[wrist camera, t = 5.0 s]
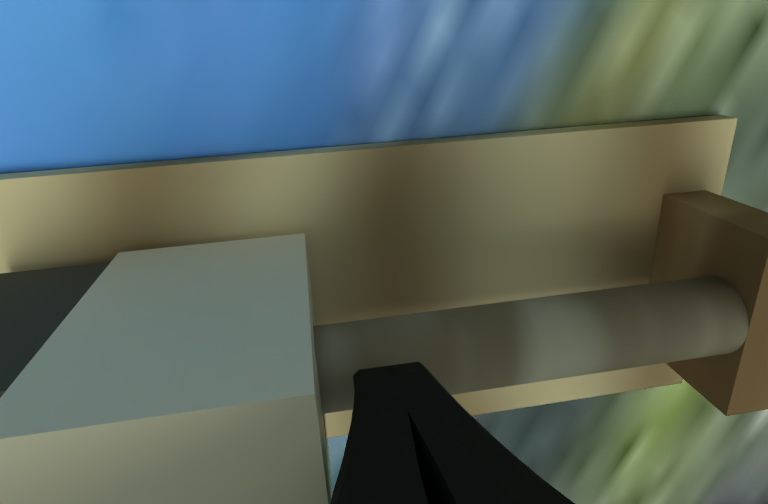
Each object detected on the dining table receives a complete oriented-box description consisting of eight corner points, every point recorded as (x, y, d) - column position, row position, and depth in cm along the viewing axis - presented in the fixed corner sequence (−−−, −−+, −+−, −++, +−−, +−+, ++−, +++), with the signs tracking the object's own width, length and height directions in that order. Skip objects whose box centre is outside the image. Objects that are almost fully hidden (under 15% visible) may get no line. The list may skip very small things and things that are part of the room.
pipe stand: (719, 114, 13) (882, 143, 10) (668, 371, 16) (777, 467, 13) (-756, 236, 9) (-1429, 362, 6) (-458, 542, 13) (-770, 751, 9)
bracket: (121, 260, 11) (23, 388, 7) (162, 414, 13) (102, 590, 9) (-4, 273, 11) (-182, 414, 7) (55, 430, 13) (-60, 619, 8)
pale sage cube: (304, 232, 12) (314, 393, 6) (324, 397, 13) (344, 629, 8) (118, 252, 11) (-38, 445, 6) (164, 420, 13) (75, 684, 8)
